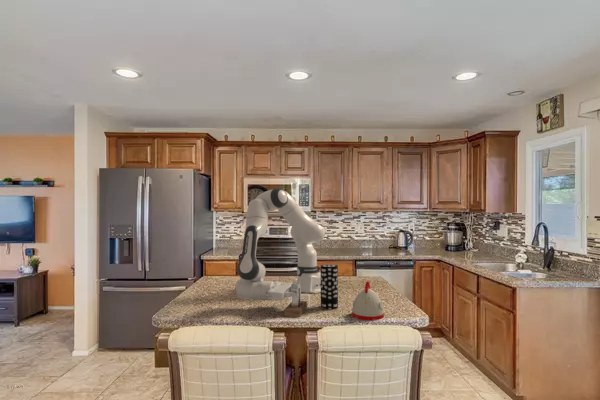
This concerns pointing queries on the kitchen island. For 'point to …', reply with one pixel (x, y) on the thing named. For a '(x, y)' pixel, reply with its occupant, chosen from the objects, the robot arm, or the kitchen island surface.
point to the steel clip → (297, 289)
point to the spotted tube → (329, 286)
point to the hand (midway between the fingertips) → (297, 292)
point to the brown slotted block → (295, 310)
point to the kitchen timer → (367, 305)
